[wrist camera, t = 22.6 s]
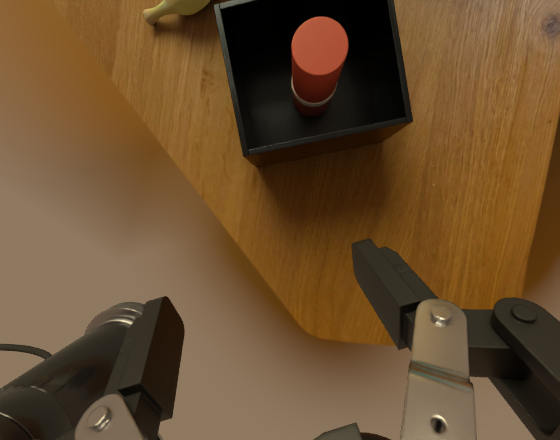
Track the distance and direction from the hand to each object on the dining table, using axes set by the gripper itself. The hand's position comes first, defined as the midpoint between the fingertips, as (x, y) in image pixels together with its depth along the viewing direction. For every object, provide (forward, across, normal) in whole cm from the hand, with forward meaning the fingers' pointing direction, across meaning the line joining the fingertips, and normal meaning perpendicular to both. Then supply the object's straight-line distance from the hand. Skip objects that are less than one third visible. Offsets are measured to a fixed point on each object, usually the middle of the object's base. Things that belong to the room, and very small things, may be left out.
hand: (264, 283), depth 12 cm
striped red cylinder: (+29, -11, -2) cm, 31 cm away
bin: (+30, -10, -2) cm, 32 cm away
